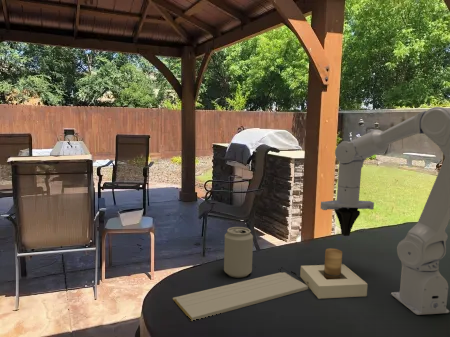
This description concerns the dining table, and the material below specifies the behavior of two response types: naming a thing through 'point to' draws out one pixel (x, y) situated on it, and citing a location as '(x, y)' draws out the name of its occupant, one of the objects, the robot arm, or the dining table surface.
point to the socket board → (333, 282)
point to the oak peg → (333, 263)
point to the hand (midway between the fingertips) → (345, 234)
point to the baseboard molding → (238, 295)
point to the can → (238, 252)
